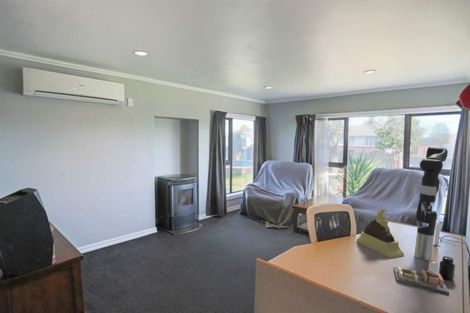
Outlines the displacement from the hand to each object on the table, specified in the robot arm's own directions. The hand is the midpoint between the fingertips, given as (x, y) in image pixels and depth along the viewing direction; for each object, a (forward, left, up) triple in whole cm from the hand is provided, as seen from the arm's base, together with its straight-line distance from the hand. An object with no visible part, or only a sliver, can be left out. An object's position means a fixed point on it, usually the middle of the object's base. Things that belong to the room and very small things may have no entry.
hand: (424, 220), depth 156 cm
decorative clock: (-25, -20, -32) cm, 45 cm away
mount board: (+14, -2, -32) cm, 35 cm away
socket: (+12, +4, -30) cm, 33 cm away
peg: (+12, +4, -30) cm, 33 cm away
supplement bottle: (+1, +13, -32) cm, 34 cm away
